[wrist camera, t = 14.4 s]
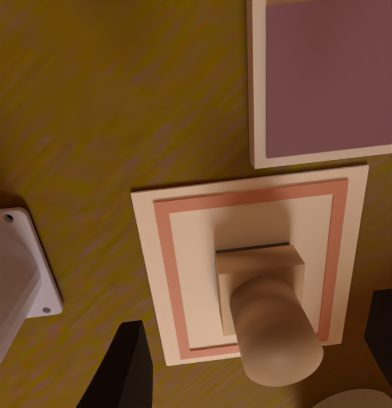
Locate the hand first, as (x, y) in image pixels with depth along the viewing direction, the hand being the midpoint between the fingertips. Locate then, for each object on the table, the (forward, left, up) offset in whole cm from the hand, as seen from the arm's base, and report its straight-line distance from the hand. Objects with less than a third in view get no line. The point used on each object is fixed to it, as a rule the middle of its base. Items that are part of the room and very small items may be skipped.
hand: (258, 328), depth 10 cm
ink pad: (+6, +6, -10) cm, 13 cm away
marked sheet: (+2, -6, -10) cm, 12 cm away
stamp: (+2, -6, -10) cm, 12 cm away
